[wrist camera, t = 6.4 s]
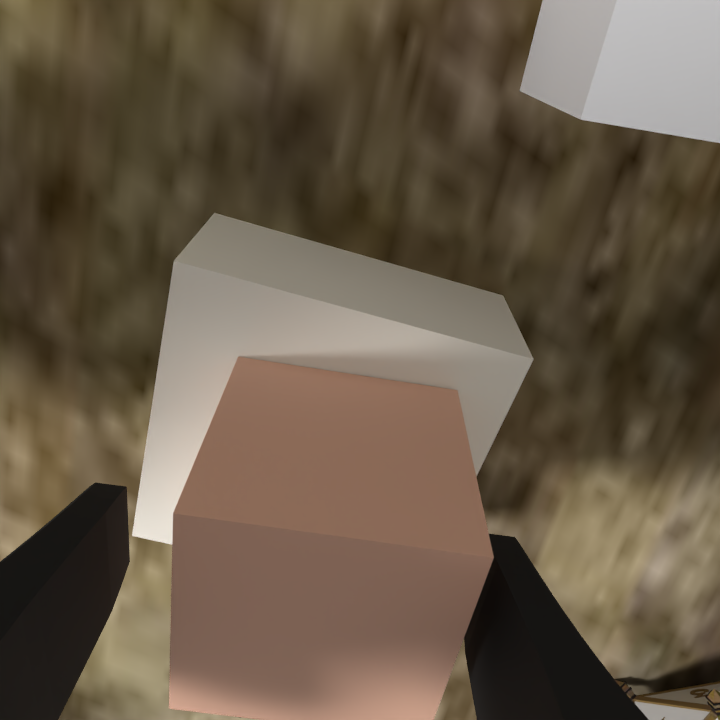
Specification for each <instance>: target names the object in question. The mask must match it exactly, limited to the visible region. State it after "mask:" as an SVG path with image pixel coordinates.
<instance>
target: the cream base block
mask: <svg viewBox="0 0 720 720" xmlns="http://www.w3.org/2000/svg"><path fill="white" fill-rule="evenodd" d="M238 357H244V358H250V359H257V360H264V361H270V362H277V363H283V364H290V365H296V366H303V367H309V368H316V369H322V370H329V371H335V372H342V373H348V374H355V375H362V376H368V377H375V378H381V379H388V380H394V381H401V382H407V383H414V384H420V385H427V386H433V387H440V388H446V389H453V390H458V395H459V399H460V404H461V409H462V413H463V418H464V422H465V427H466V432H467V436H468V441H469V445H470V450H471V455H472V459H473V464H474V468H475V473H476V477H477V475H478V472H479V470H480V468H481V466H482V464H483V462H484V460H485V458H486V456H487V454H488V452H489V450H490V448H491V446H492V444H493V442H494V440H495V438H496V435H497V433H498V431H499V429H500V427H501V425H502V423H503V421H504V419H505V417H506V415H507V413H508V411H509V409H510V407H511V405H512V403H513V400H514V398H515V396H516V394H517V392H518V390H519V388H520V386H521V384H522V382H523V380H524V378H525V376H526V374H527V372H528V370H529V368H530V366H531V363H532V361H533V357H532V355H531V353H530V351H529V349H528V347H527V344H526V342H525V340H524V338H523V336H522V334H521V332H520V330H519V328H518V326H517V323H516V321H515V319H514V317H513V315H512V313H511V311H510V309H509V307H508V305H507V303H506V300H505V298H504V296H503V295H500V294H496V293H493V292H489V291H486V290H482V289H479V288H475V287H472V286H468V285H465V284H461V283H458V282H454V281H451V280H447V279H444V278H440V277H437V276H433V275H430V274H426V273H423V272H419V271H416V270H412V269H409V268H405V267H402V266H398V265H395V264H391V263H388V262H384V261H381V260H377V259H374V258H371V257H367V256H364V255H360V254H357V253H353V252H350V251H346V250H343V249H339V248H336V247H332V246H329V245H325V244H322V243H318V242H315V241H311V240H308V239H304V238H301V237H297V236H294V235H290V234H287V233H283V232H280V231H276V230H273V229H269V228H266V227H262V226H259V225H255V224H252V223H248V222H245V221H241V220H238V219H234V218H231V217H227V216H224V215H220V214H217V213H214V214H213V215H212V216H211V217H210V219H209V220H208V221H207V222H206V223H205V224H204V226H203V227H202V228H201V229H200V230H199V232H198V233H197V234H196V235H195V236H194V238H193V239H192V240H191V241H190V242H189V243H188V245H187V246H186V247H185V248H184V249H183V251H182V252H181V253H180V254H179V255H178V256H177V258H176V259H175V260H174V263H173V270H172V277H171V283H170V290H169V296H168V303H167V309H166V316H165V323H164V329H163V336H162V342H161V349H160V356H159V362H158V369H157V375H156V382H155V388H154V395H153V402H152V408H151V415H150V421H149V428H148V435H147V441H146V448H145V454H144V461H143V467H142V474H141V481H140V487H139V494H138V500H137V507H136V514H135V520H134V527H133V533H132V536H136V537H140V538H145V539H149V540H154V541H158V542H163V543H167V544H172V540H173V512H174V510H175V507H176V505H177V503H178V500H179V498H180V495H181V493H182V491H183V488H184V486H185V483H186V481H187V479H188V476H189V474H190V471H191V469H192V467H193V464H194V462H195V459H196V457H197V454H198V452H199V450H200V447H201V445H202V442H203V440H204V438H205V435H206V433H207V430H208V428H209V426H210V423H211V421H212V418H213V416H214V414H215V411H216V409H217V406H218V404H219V402H220V399H221V397H222V394H223V392H224V389H225V387H226V385H227V382H228V380H229V377H230V375H231V373H232V370H233V368H234V365H235V363H236V361H237V358H238Z"/></svg>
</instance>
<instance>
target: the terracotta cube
mask: <svg viewBox="0 0 720 720" xmlns="http://www.w3.org/2000/svg"><path fill="white" fill-rule="evenodd" d="M493 559H494V556H493V551H492V547H491V542H490V538H489V533H488V528H487V524H486V519H485V515H484V510H483V505H482V501H481V496H480V492H479V487H478V482H477V478H476V473H475V468H474V464H473V459H472V455H471V450H470V445H469V441H468V436H467V432H466V427H465V422H464V418H463V413H462V409H461V404H460V399H459V395H458V390H453V389H446V388H440V387H433V386H427V385H420V384H414V383H407V382H401V381H394V380H388V379H381V378H375V377H368V376H362V375H355V374H348V373H342V372H335V371H329V370H322V369H316V368H309V367H303V366H296V365H290V364H283V363H277V362H270V361H264V360H257V359H250V358H244V357H238V358H237V361H236V363H235V365H234V368H233V370H232V373H231V375H230V377H229V380H228V382H227V385H226V387H225V389H224V392H223V394H222V397H221V399H220V402H219V404H218V406H217V409H216V411H215V414H214V416H213V418H212V421H211V423H210V426H209V428H208V430H207V433H206V435H205V438H204V440H203V442H202V445H201V447H200V450H199V452H198V454H197V457H196V459H195V462H194V464H193V467H192V469H191V471H190V474H189V476H188V479H187V481H186V483H185V486H184V488H183V491H182V493H181V495H180V498H179V500H178V503H177V505H176V507H175V510H174V512H173V540H172V588H171V636H170V684H169V709H176V710H185V711H193V712H201V713H210V714H218V715H226V716H235V717H243V718H251V719H259V720H434V717H435V715H436V712H437V709H438V706H439V704H440V701H441V698H442V696H443V693H444V690H445V688H446V685H447V682H448V680H449V677H450V674H451V672H452V669H453V666H454V663H455V661H456V658H457V655H458V653H459V650H460V647H461V645H462V642H463V639H464V637H465V634H466V631H467V628H468V626H469V623H470V620H471V618H472V615H473V612H474V610H475V607H476V604H477V602H478V599H479V596H480V594H481V591H482V588H483V585H484V583H485V580H486V577H487V575H488V572H489V569H490V567H491V564H492V561H493Z"/></svg>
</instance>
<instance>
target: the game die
mask: <svg viewBox="0 0 720 720" xmlns="http://www.w3.org/2000/svg"><path fill="white" fill-rule="evenodd" d="M615 681H616V682H617V683H618V685H619V686H620V687H621V688H622V689H623V691H624V692H625V693H626V694H627V695H628V697H629V698H630V699H631V700H632V701H633V702H634V703H635V705H636V706H637V707H638V708H639V709H640V710H641V711H642V712H643V714H644V715H645V716H646V717H647V718H648V719H649V720H720V681H719V682H713V683H707V684H702V685H696V686H690V687H684V688H678V689H672V690H667V691H661V692H655V693H649V694H643V695H637V696H636V695H635V694H634V693H633V692H632V688H631V687H630V688H629V687H628V686H627V683H626V682H625V683H624V682H621V681H617V680H615Z"/></svg>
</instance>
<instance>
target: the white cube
mask: <svg viewBox="0 0 720 720" xmlns="http://www.w3.org/2000/svg"><path fill="white" fill-rule="evenodd" d="M520 91H521V92H523V93H525V94H527V95H529V96H531V97H534V98H536V99H538V100H540V101H542V102H544V103H546V104H548V105H551V106H553V107H555V108H557V109H559V110H561V111H563V112H565V113H568V114H570V115H572V116H574V117H576V118H578V119H580V120H586V121H592V122H598V123H604V124H610V125H616V126H622V127H627V128H633V129H639V130H645V131H651V132H657V133H663V134H669V135H675V136H681V137H687V138H693V139H699V140H705V141H711V142H717V143H720V0H543V1H542V5H541V9H540V13H539V17H538V21H537V25H536V28H535V32H534V36H533V40H532V44H531V48H530V52H529V56H528V60H527V64H526V68H525V72H524V76H523V80H522V84H521V87H520Z"/></svg>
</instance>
